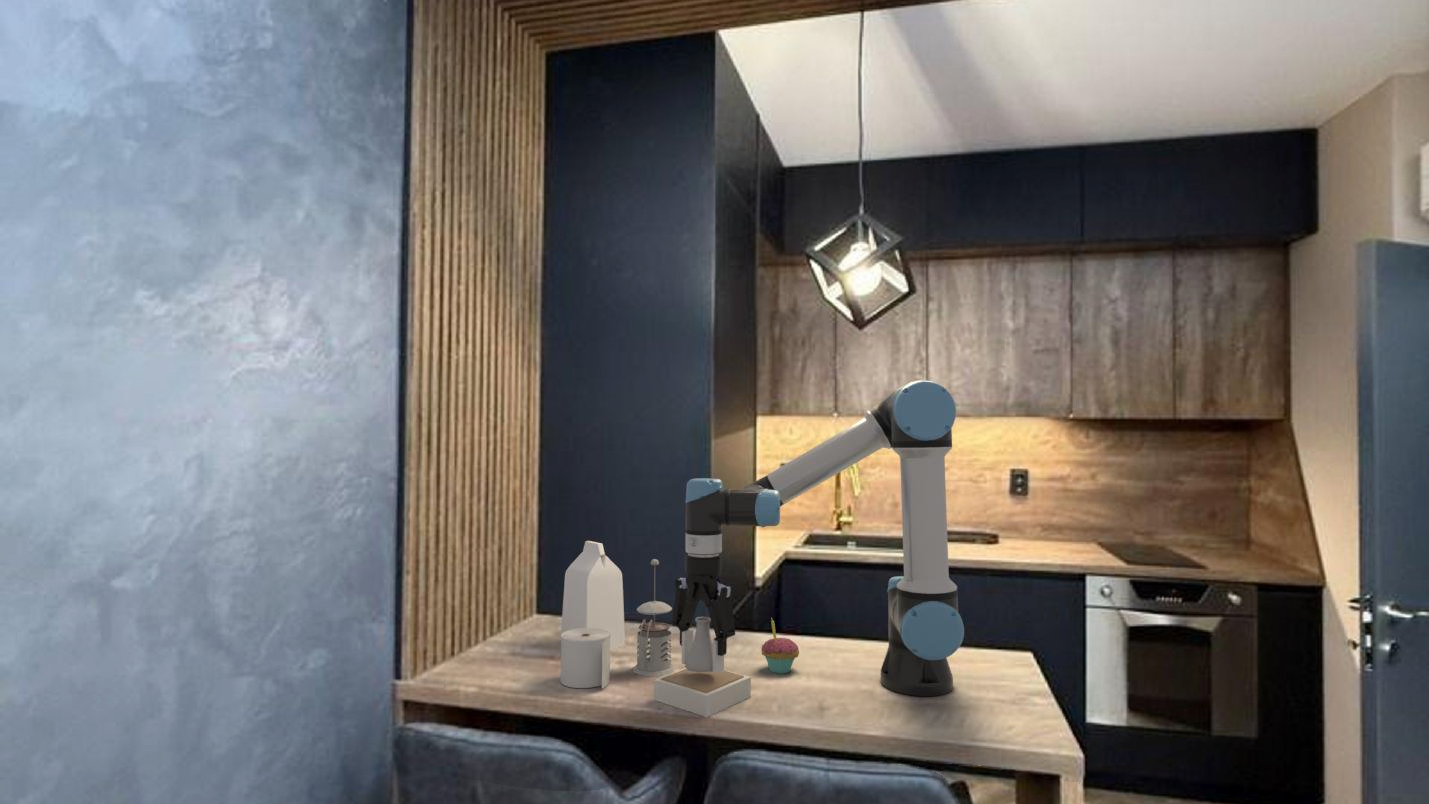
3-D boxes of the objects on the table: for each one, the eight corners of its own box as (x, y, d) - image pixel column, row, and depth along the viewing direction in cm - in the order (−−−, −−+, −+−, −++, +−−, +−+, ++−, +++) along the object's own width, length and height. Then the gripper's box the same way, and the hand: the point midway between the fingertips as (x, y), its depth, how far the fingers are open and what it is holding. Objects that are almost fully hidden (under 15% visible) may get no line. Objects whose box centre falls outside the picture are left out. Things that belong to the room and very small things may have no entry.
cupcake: (768, 677, 163) (768, 622, 163) (756, 665, 171) (756, 613, 172) (804, 674, 165) (804, 620, 166) (790, 662, 173) (790, 611, 174)
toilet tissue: (576, 670, 168) (577, 625, 168) (623, 676, 163) (624, 630, 164) (550, 685, 158) (551, 638, 158) (600, 692, 153) (601, 643, 154)
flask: (720, 674, 147) (720, 623, 147) (683, 673, 147) (684, 622, 147) (720, 662, 154) (720, 614, 154) (686, 662, 154) (686, 613, 155)
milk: (560, 644, 187) (561, 542, 188) (598, 636, 195) (599, 537, 196) (586, 655, 178) (587, 547, 179) (625, 646, 186) (626, 542, 187)
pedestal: (750, 696, 151) (750, 675, 151) (706, 717, 140) (707, 694, 140) (698, 681, 160) (699, 661, 160) (654, 699, 149) (654, 678, 149)
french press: (681, 664, 172) (681, 556, 173) (664, 680, 161) (665, 565, 162) (641, 660, 174) (642, 554, 175) (622, 676, 163) (623, 563, 164)
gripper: (654, 550, 155) (653, 660, 154) (731, 562, 142) (730, 682, 141) (678, 546, 161) (677, 652, 160) (754, 557, 148) (753, 672, 147)
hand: (702, 666), depth 150 cm, fingers closed on flask, 8 cm apart
